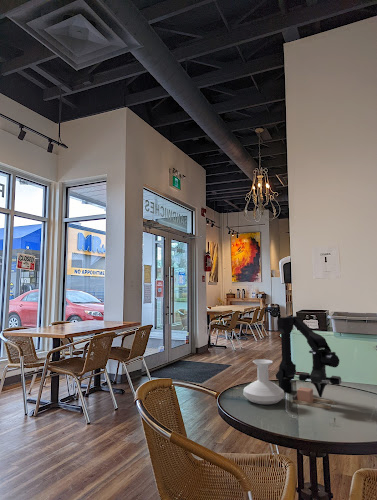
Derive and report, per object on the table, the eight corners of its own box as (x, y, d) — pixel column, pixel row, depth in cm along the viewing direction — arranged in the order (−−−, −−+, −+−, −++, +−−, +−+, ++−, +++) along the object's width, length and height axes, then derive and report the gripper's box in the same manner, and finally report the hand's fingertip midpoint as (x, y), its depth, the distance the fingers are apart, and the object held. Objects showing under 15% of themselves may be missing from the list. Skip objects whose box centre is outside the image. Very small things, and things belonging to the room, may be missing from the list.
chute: (291, 403, 178) (291, 396, 178) (296, 398, 185) (296, 392, 185) (330, 409, 168) (330, 402, 168) (334, 404, 175) (334, 397, 176)
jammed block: (297, 402, 178) (297, 390, 178) (301, 399, 183) (300, 387, 183) (310, 404, 174) (309, 391, 175) (313, 401, 179) (312, 388, 180)
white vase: (292, 401, 180) (291, 361, 182) (267, 410, 168) (265, 367, 169) (260, 392, 196) (259, 355, 197) (235, 400, 183) (234, 361, 185)
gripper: (294, 364, 175) (296, 398, 173) (335, 368, 165) (337, 404, 163) (301, 360, 184) (302, 392, 182) (340, 364, 174) (342, 398, 172)
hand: (320, 396), depth 175 cm, fingers closed
